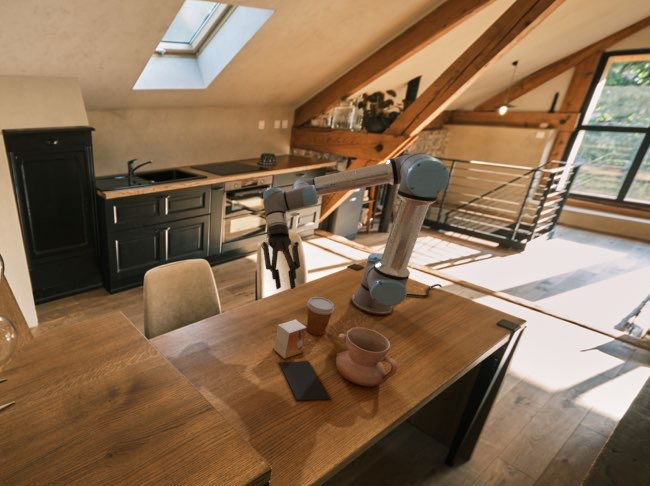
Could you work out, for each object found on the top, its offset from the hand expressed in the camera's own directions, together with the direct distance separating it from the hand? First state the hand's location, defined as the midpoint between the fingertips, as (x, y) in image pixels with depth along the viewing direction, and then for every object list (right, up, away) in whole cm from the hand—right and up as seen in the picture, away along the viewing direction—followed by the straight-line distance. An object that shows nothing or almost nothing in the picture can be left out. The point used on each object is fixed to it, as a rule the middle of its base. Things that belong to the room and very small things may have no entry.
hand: (285, 287), depth 134 cm
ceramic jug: (+20, -27, -12) cm, 36 cm away
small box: (0, -22, -2) cm, 22 cm away
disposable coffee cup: (+14, -17, +10) cm, 24 cm away
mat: (+1, -27, -15) cm, 31 cm away
